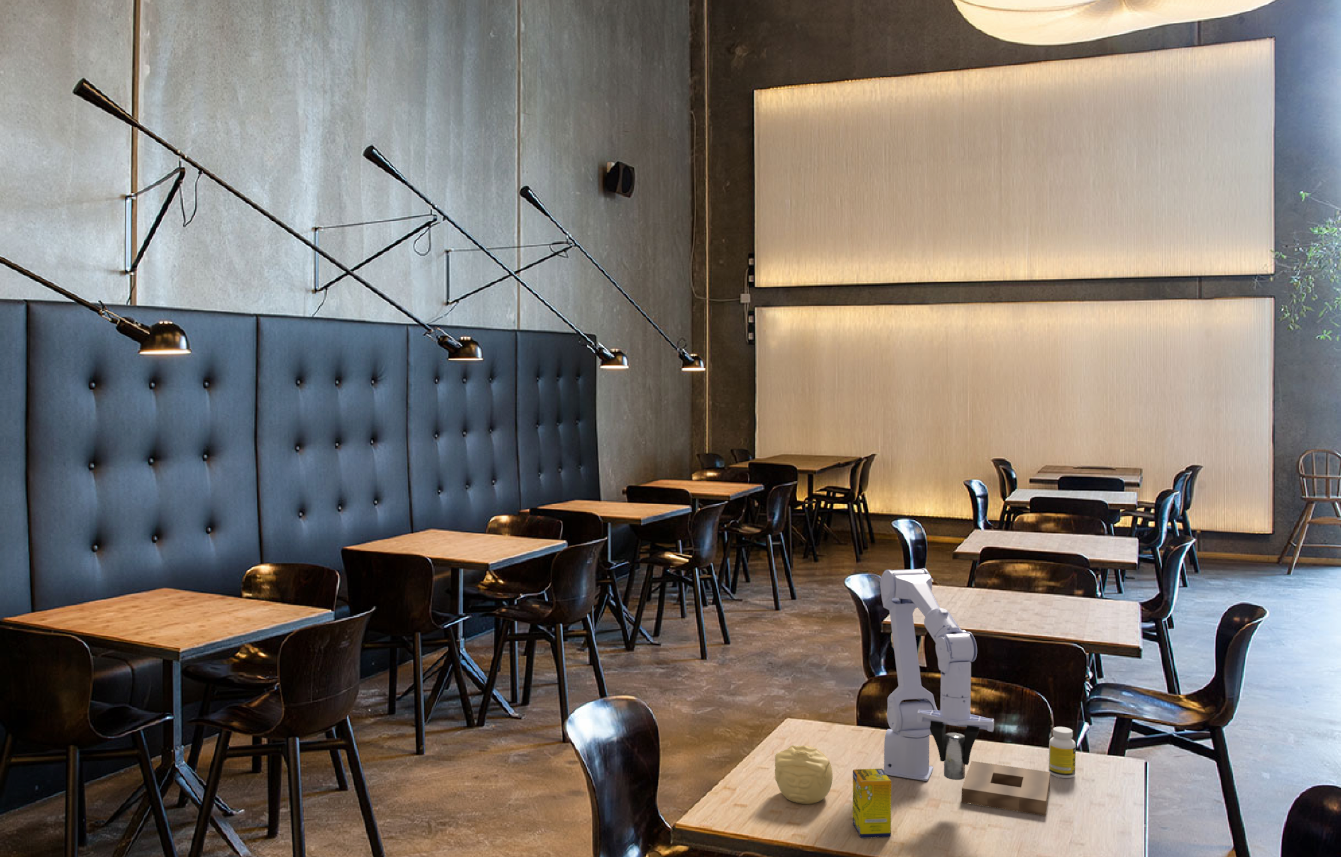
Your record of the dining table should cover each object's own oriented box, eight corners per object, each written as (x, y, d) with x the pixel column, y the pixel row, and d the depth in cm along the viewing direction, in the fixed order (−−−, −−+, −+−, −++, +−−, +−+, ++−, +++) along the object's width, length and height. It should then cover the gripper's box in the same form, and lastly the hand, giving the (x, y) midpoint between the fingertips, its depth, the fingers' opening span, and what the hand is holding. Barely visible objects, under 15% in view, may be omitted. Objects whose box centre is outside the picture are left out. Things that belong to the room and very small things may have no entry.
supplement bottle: (1077, 779, 217) (1078, 734, 217) (1050, 778, 218) (1051, 733, 218) (1072, 770, 222) (1073, 726, 222) (1046, 768, 224) (1047, 724, 223)
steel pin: (942, 778, 200) (943, 738, 200) (945, 770, 204) (946, 731, 204) (963, 781, 199) (963, 741, 198) (966, 774, 202) (966, 734, 202)
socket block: (961, 802, 205) (961, 788, 205) (971, 774, 220) (971, 760, 220) (1045, 816, 199) (1046, 801, 199) (1050, 786, 214) (1050, 772, 214)
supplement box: (851, 824, 195) (852, 768, 195) (882, 823, 196) (882, 767, 195) (860, 838, 189) (860, 781, 189) (891, 837, 190) (892, 779, 189)
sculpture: (769, 805, 204) (769, 752, 204) (783, 783, 216) (783, 733, 215) (825, 813, 201) (826, 759, 200) (837, 790, 212) (837, 739, 211)
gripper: (914, 694, 200) (913, 762, 201) (991, 704, 194) (990, 774, 195) (920, 685, 206) (920, 750, 207) (995, 693, 201) (994, 761, 201)
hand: (954, 761), depth 201 cm, fingers closed on steel pin, 4 cm apart
